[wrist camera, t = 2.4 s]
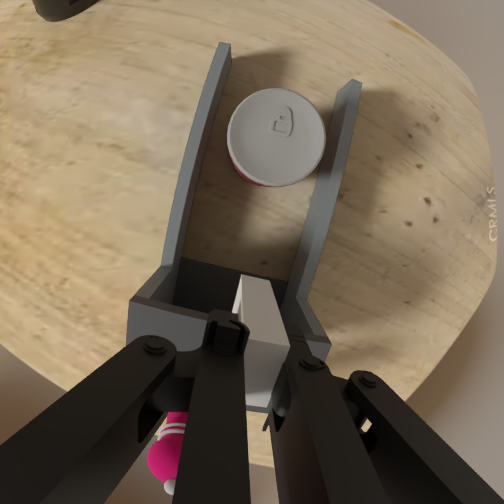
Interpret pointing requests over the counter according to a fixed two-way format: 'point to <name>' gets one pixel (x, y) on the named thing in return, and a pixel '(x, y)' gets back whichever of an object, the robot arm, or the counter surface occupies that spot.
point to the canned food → (275, 137)
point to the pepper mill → (168, 450)
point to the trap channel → (227, 280)
